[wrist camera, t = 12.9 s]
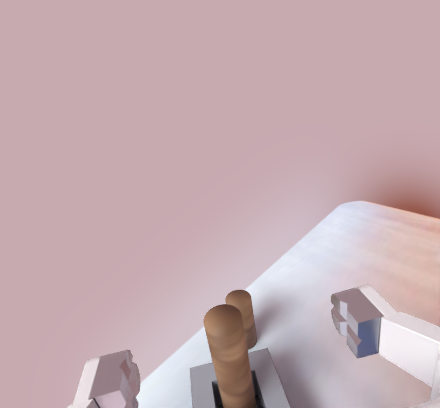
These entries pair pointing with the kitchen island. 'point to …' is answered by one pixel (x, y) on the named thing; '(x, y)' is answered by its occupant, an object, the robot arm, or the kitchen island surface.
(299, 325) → the kitchen island surface
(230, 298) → the short dowel
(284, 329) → the kitchen island surface
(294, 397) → the kitchen island surface
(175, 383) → the kitchen island surface
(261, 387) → the socket block
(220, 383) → the long dowel
